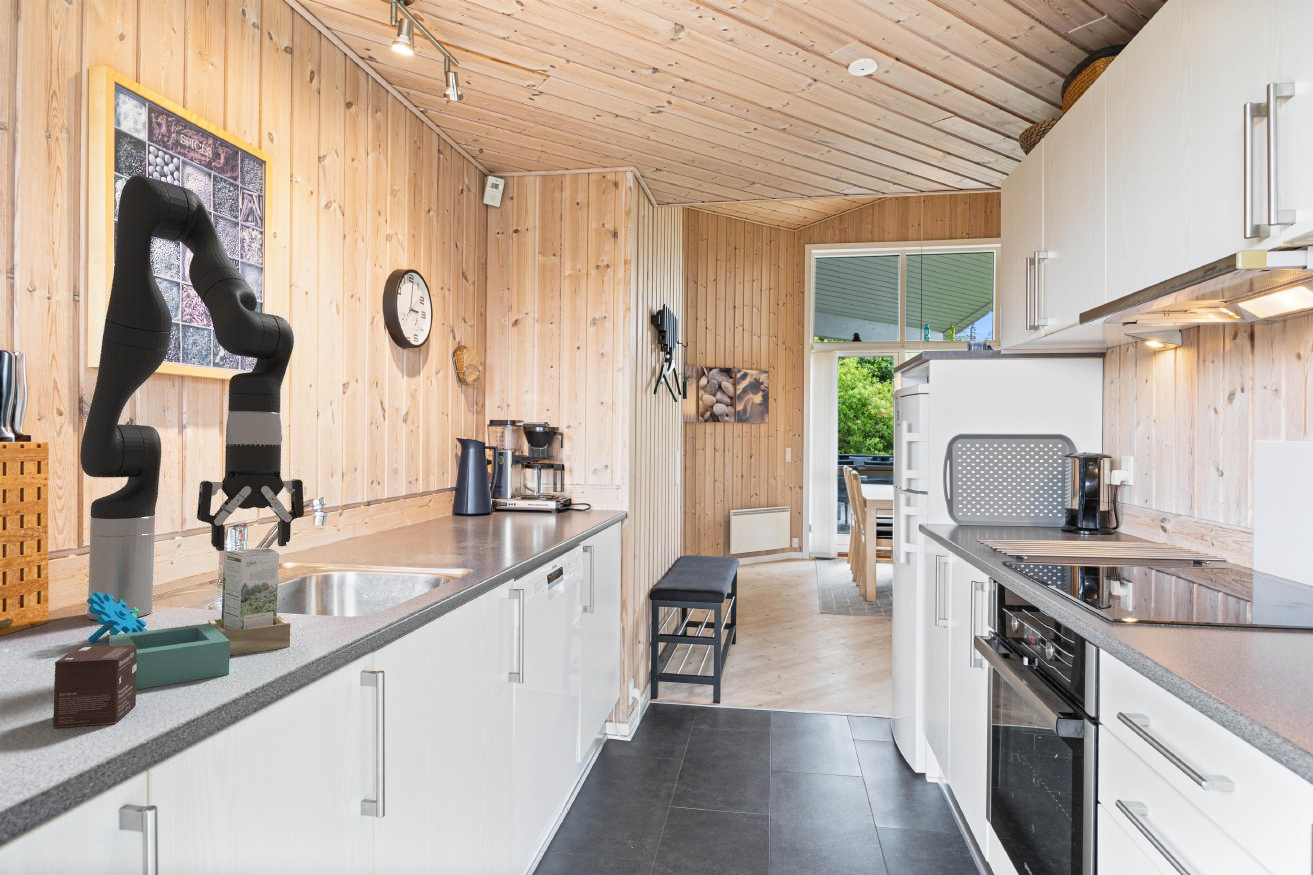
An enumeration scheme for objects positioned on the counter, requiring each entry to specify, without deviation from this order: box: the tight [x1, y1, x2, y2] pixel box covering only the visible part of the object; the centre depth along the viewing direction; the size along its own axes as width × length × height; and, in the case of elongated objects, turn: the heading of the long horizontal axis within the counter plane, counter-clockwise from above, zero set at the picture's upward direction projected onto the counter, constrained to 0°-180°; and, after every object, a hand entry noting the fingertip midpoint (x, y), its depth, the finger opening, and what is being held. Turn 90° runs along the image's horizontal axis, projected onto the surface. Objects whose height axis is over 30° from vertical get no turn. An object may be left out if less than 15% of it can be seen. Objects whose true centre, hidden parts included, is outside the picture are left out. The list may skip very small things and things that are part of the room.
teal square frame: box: [108, 622, 231, 691], centre depth 101 cm, size 12×12×4 cm
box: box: [52, 645, 137, 729], centre depth 85 cm, size 6×6×7 cm
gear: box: [86, 592, 149, 644], centre depth 115 cm, size 11×6×10 cm
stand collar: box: [207, 614, 291, 657], centre depth 115 cm, size 9×9×4 cm
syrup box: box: [220, 547, 280, 631], centre depth 115 cm, size 6×6×14 cm
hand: (251, 548), depth 115 cm, fingers open, 8 cm apart
